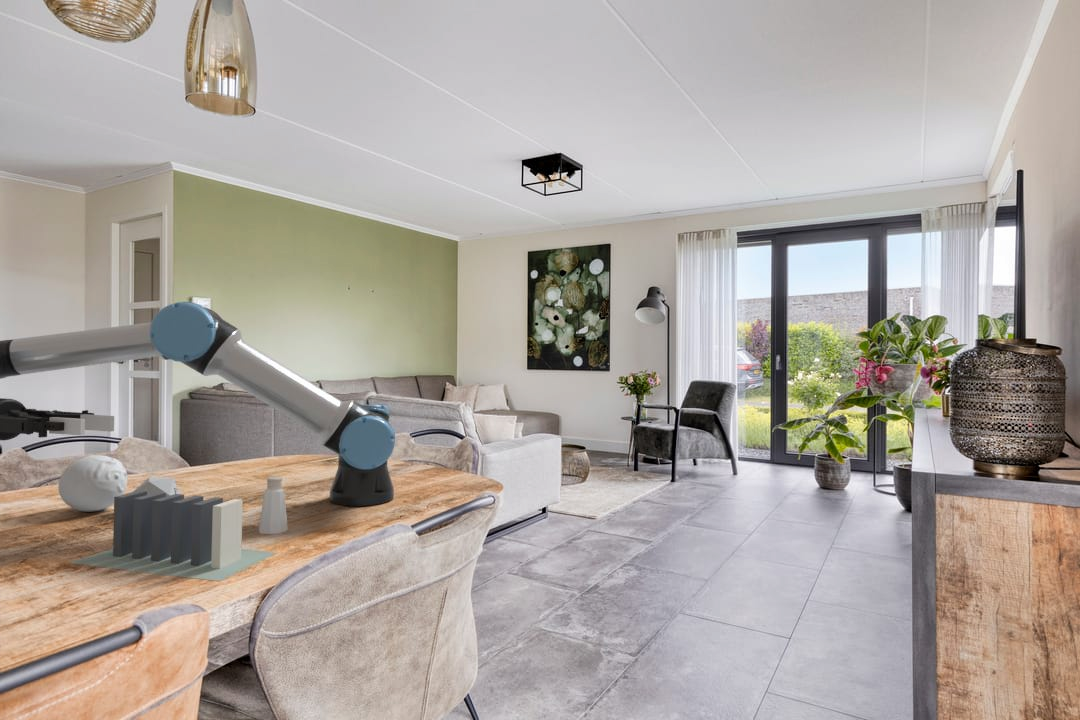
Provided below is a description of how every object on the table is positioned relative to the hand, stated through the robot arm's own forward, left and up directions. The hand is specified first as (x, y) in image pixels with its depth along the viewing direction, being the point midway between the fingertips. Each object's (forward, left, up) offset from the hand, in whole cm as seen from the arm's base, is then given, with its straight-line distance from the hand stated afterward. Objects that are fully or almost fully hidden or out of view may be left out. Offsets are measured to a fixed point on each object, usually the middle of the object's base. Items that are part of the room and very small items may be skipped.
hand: (97, 425), depth 106 cm
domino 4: (-18, +6, -21) cm, 28 cm away
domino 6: (-25, +9, -21) cm, 34 cm away
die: (+1, -25, -22) cm, 33 cm away
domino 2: (-10, +4, -21) cm, 24 cm away
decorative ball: (+15, -28, -22) cm, 39 cm away
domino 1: (-7, +3, -21) cm, 23 cm away
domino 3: (-14, +5, -21) cm, 26 cm away
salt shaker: (-27, -10, -22) cm, 36 cm away
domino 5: (-21, +8, -21) cm, 31 cm away
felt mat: (-16, +6, -22) cm, 28 cm away
